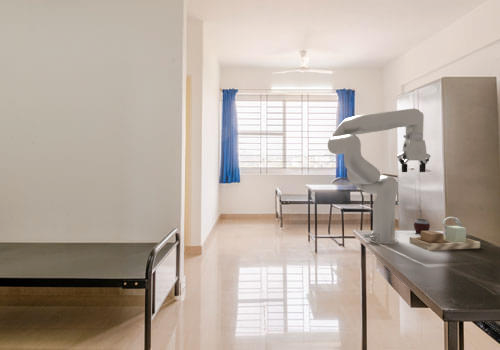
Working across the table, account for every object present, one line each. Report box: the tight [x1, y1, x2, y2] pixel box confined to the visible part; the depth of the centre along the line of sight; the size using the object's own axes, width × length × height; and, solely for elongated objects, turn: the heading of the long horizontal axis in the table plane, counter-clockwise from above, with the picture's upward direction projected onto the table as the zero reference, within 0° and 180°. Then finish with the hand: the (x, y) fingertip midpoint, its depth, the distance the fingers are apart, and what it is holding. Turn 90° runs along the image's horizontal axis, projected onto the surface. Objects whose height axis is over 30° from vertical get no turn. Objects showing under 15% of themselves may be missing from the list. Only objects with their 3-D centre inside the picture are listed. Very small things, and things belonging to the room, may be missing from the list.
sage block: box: [445, 225, 467, 243], centre depth 124 cm, size 5×5×8 cm
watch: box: [442, 216, 464, 230], centre depth 138 cm, size 6×8×11 cm
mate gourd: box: [413, 204, 431, 235], centre depth 146 cm, size 8×8×15 cm
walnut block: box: [420, 230, 445, 244], centre depth 123 cm, size 6×6×6 cm
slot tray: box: [409, 235, 481, 251], centre depth 124 cm, size 24×12×4 cm, turn 98°
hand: (413, 172), depth 138 cm, fingers open, 9 cm apart
